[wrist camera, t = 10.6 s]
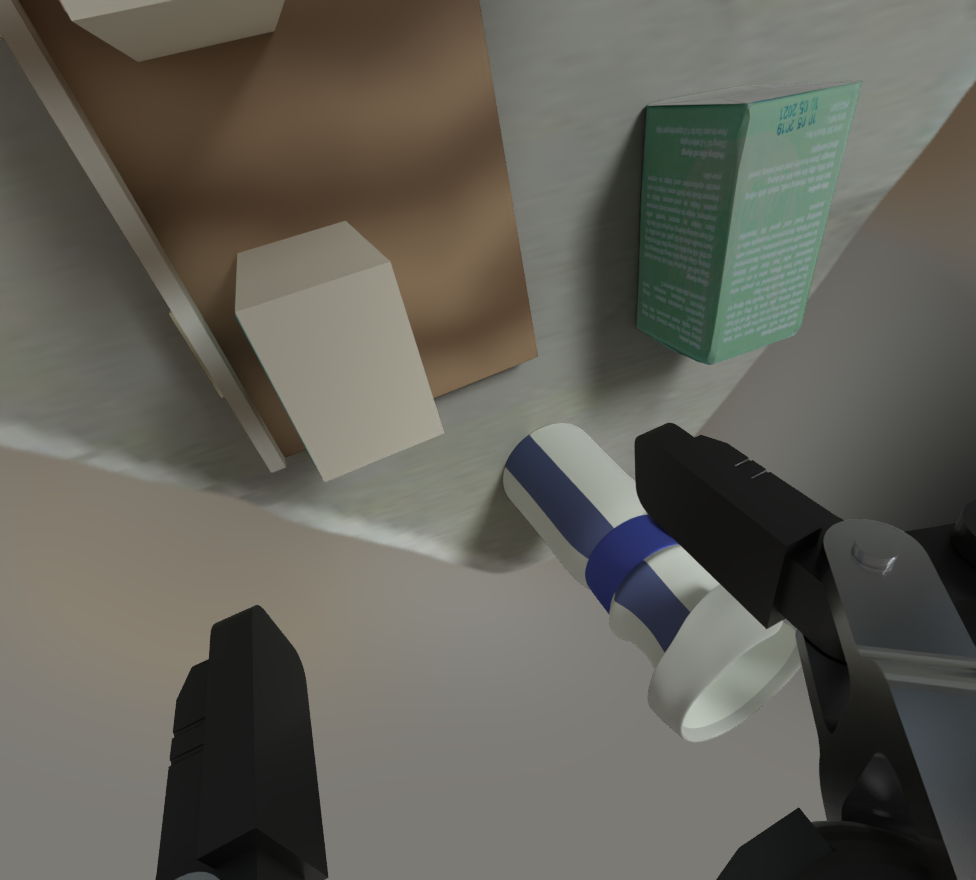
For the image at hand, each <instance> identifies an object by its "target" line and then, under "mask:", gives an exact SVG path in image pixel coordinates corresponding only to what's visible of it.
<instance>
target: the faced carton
mask: <svg viewBox="0 0 976 880" xmlns="http://www.w3.org/2000/svg"><path fill="white" fill-rule="evenodd" d="M284 1H285V0H59V2H60V3H61V5H62V7H63V9H64V11H65V12H66V13H68V15H69V17H70V19H71V21H72V22H74V23H76V24H77V25H79V26H80V27H82V28H84V29H85V30H87V31H89V32H90V33H92V34H93V35H95V36H97V37H98V38H100V39H102V40H103V41H105V42H106V43H108V44H110V45H111V46H113V47H115V48H116V49H118V50H119V51H121V52H123V53H124V54H126V55H128V56H129V57H131V58H132V59H134V60H136V61H137V62H141V61H145V60H149V59H154V58H158V57H163V56H167V55H171V54H176V53H180V52H185V51H189V50H194V49H198V48H202V47H207V46H211V45H216V44H220V43H224V42H229V41H233V40H238V39H242V38H247V37H251V36H255V35H260V34H264V33H269V32H273V31H275V28H276V25H277V22H278V19H279V16H280V13H281V10H282V7H283V4H284Z"/></svg>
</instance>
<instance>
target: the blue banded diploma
mask: <svg viewBox="0 0 976 880" xmlns="http://www.w3.org/2000/svg"><path fill="white" fill-rule="evenodd" d="M503 486H504V490H505V492H506V494H507V496H508V498H509V499H510V500H511V501H512V502H513V504H514V505H515V506H516V507H517V508H518V509H519V511H520V512H521V513H522V514H523V515H524V516H525V518H526V519H527V520H528V521H529V522H530V524H531V525H532V526H533V527H534V529H535V530H536V531H537V532H538V534H539V535H540V536H541V537H542V539H543V540H544V541H545V543H546V544H547V545H548V547H549V548H550V549H551V551H552V552H553V553H554V555H555V556H556V557H557V559H558V560H559V561H560V563H561V564H562V565H563V566H564V567H565V569H566V570H567V571H568V572H569V573H570V575H571V576H572V577H573V578H574V579H575V580H577V581H578V582H579V583H580V584H581V585H583V586H585V587H586V588H588V589H590V590H591V591H592V592H593V593H594V595H595V596H596V598H597V599H598V600H599V602H600V603H601V604H602V606H603V607H604V608H605V610H606V611H607V612H608V614H609V625H610V628H611V630H612V631H613V633H614V634H615V635H616V636H617V637H619V638H621V639H623V640H626V641H629V642H632V643H633V644H635V645H636V646H637V647H638V648H639V649H640V650H641V651H642V652H643V653H644V654H645V655H646V656H647V658H648V659H649V661H650V662H651V664H652V666H653V667H654V669H655V670H654V673H653V676H652V679H651V682H650V686H649V690H648V703H649V706H650V708H651V709H652V710H653V711H654V712H655V713H656V714H657V716H658V717H659V718H660V719H661V720H662V721H663V722H664V723H665V724H667V725H668V726H669V727H670V728H671V729H672V730H674V731H675V732H676V733H677V734H678V735H679V736H680V737H682V738H683V739H685V740H687V741H690V742H701V741H706V740H709V739H712V738H715V737H717V736H720V735H722V734H724V733H726V732H728V731H730V730H731V729H733V728H735V727H736V726H738V725H740V724H741V723H742V722H744V721H745V720H746V719H748V718H749V717H750V716H752V715H753V714H754V713H755V712H757V711H758V710H759V709H760V708H761V707H762V706H763V705H764V704H766V703H767V702H768V701H769V700H770V699H771V698H772V697H773V696H774V695H775V694H776V693H777V692H778V691H779V690H780V689H781V688H782V687H783V686H784V685H785V684H786V683H787V682H788V681H789V680H790V679H791V678H792V676H793V675H794V674H795V673H796V672H797V670H798V669H799V667H800V666H801V665H802V664H801V660H800V656H799V651H798V647H797V643H796V636H795V633H796V627H794V626H792V625H790V624H787V623H785V622H783V620H782V621H781V622H779V623H777V624H775V625H774V626H772V627H770V628H768V629H766V628H765V627H764V626H763V625H762V624H761V623H759V622H758V621H757V620H756V619H755V618H754V617H753V616H752V615H751V614H750V613H749V612H748V611H747V610H746V609H745V608H744V607H743V606H742V605H741V604H740V603H739V602H738V601H737V600H736V599H735V598H734V597H733V596H732V595H731V594H730V593H729V592H728V591H727V590H726V589H725V588H723V587H722V586H721V585H720V584H719V583H718V582H717V581H716V580H715V579H714V578H713V577H712V576H711V575H710V574H709V573H708V572H707V571H706V570H705V569H704V568H703V567H702V566H701V565H700V564H699V563H698V562H697V561H696V560H695V559H694V558H693V557H692V556H691V555H690V554H689V553H687V552H686V551H685V550H684V549H683V548H682V547H681V546H680V545H679V544H678V543H677V542H676V541H675V540H674V539H673V538H672V537H671V536H670V535H669V534H668V533H667V532H666V531H665V530H664V529H663V528H662V527H661V526H660V525H659V524H658V523H657V522H656V521H655V520H654V519H652V518H651V517H650V516H649V514H648V513H647V512H646V511H645V510H644V508H643V506H642V505H641V503H640V501H639V498H638V496H637V492H636V482H635V481H634V480H633V479H632V478H631V477H630V476H628V475H627V474H626V473H625V472H624V471H623V470H622V469H621V468H620V467H619V466H618V465H617V464H616V463H615V462H614V461H613V460H612V459H611V458H610V457H609V456H608V455H607V454H606V453H605V452H604V451H603V450H602V449H601V448H600V447H599V446H598V445H597V444H596V443H595V442H594V441H593V440H592V439H591V438H590V437H589V436H588V435H587V433H586V432H585V431H584V430H582V429H581V428H580V427H578V426H575V425H573V424H568V423H556V424H551V425H547V426H545V427H542V428H540V429H538V430H536V431H534V432H533V433H531V434H530V435H528V436H527V437H526V438H525V439H523V440H522V441H521V442H520V443H519V444H518V445H517V447H516V448H515V449H514V450H513V452H512V453H511V455H510V457H509V459H508V461H507V463H506V466H505V469H504V473H503Z"/></svg>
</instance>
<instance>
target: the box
mask: <svg viewBox="0 0 976 880" xmlns="http://www.w3.org/2000/svg"><path fill="white" fill-rule="evenodd" d="M861 84H862V81H840V82H819V83H795V84H771V85H746V86H738V87H733V88H727V89H721V90H715V91H710V92H704V93H698V94H692V95H687V96H681V97H675V98H671V99H666V100H662V101H658V102H654V103H650V104H648V105H647V106H646V124H645V141H644V157H643V174H642V191H641V217H640V246H639V273H638V298H637V320H636V327H637V328H638V329H639V330H641V331H643V332H644V333H646V334H647V335H649V336H650V337H652V338H653V339H655V340H656V341H658V342H659V343H661V344H662V345H664V346H665V347H667V348H668V349H670V350H672V351H675V352H677V353H680V354H682V355H685V356H687V357H689V358H691V359H693V360H695V361H697V362H701V363H704V364H708V365H710V364H715V363H718V362H721V361H723V360H726V359H729V358H732V357H735V356H738V355H741V354H743V353H746V352H749V351H752V350H755V349H758V348H760V347H763V346H766V345H769V344H771V343H774V342H777V341H779V340H782V339H786V338H788V337H792V336H793V335H795V334H796V332H797V331H798V329H799V328H800V327H801V324H802V320H803V315H804V311H805V306H806V303H807V299H808V295H809V290H810V286H811V282H812V278H813V274H814V269H815V265H816V261H817V257H818V253H819V249H820V245H821V242H822V238H823V234H824V230H825V226H826V222H827V218H828V214H829V210H830V206H831V202H832V198H833V194H834V190H835V186H836V182H837V178H838V174H839V170H840V166H841V162H842V158H843V155H844V151H845V147H846V143H847V139H848V136H849V132H850V128H851V125H852V121H853V117H854V113H855V109H856V105H857V101H858V97H859V92H860V88H861Z"/></svg>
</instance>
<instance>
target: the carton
mask: <svg viewBox="0 0 976 880" xmlns="http://www.w3.org/2000/svg"><path fill="white" fill-rule="evenodd" d="M235 316H236V318H237V320H238V322H239V324H240V326H241V327H242V329H243V331H244V333H245V335H246V337H247V339H248V341H249V343H250V344H251V346H252V348H253V350H254V352H255V354H256V356H257V358H258V360H259V361H260V363H261V365H262V367H263V369H264V371H265V373H266V375H267V377H268V378H269V380H270V382H271V384H272V386H273V388H274V390H275V392H276V393H277V395H278V397H279V399H280V401H281V403H282V405H283V407H284V409H285V410H286V412H287V414H288V416H289V418H290V420H291V422H292V424H293V426H294V427H295V429H296V431H297V433H298V435H299V437H300V439H301V441H302V442H303V444H304V446H305V448H306V450H307V452H308V454H309V456H310V458H311V459H312V461H313V463H314V465H315V467H317V469H318V471H319V472H320V474H321V476H322V478H323V480H324V482H327V481H329V480H332V479H334V478H337V477H339V476H341V475H344V474H346V473H349V472H351V471H354V470H356V469H359V468H361V467H363V466H366V465H368V464H371V463H373V462H376V461H378V460H381V459H383V458H385V457H388V456H390V455H393V454H395V453H398V452H400V451H402V450H405V449H407V448H410V447H412V446H415V445H417V444H420V443H422V442H424V441H427V440H429V439H432V438H434V437H437V436H439V435H442V434H444V431H443V428H442V424H441V421H440V418H439V415H438V412H437V408H436V405H435V402H434V399H433V396H432V392H431V389H430V386H429V383H428V380H427V377H426V373H425V370H424V367H423V364H422V361H421V357H420V354H419V351H418V348H417V345H416V342H415V338H414V335H413V332H412V329H411V326H410V322H409V319H408V316H407V313H406V310H405V306H404V303H403V300H402V297H401V294H400V291H399V287H398V284H397V281H396V278H395V275H394V271H393V268H392V265H391V262H390V261H389V260H388V259H387V258H386V257H385V256H384V255H383V254H382V253H380V252H379V251H378V250H377V249H376V248H375V247H374V246H373V245H372V244H371V243H370V242H368V241H367V240H366V239H365V238H364V237H363V236H362V235H361V234H360V233H359V232H358V231H356V230H355V229H354V228H353V227H352V226H351V225H350V224H349V223H348V222H347V221H343V222H339V223H336V224H333V225H330V226H326V227H323V228H320V229H316V230H313V231H310V232H306V233H303V234H300V235H297V236H293V237H290V238H287V239H283V240H280V241H277V242H273V243H270V244H267V245H264V246H260V247H257V248H254V249H250V250H247V251H244V252H240V253H237V273H236V297H235Z"/></svg>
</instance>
